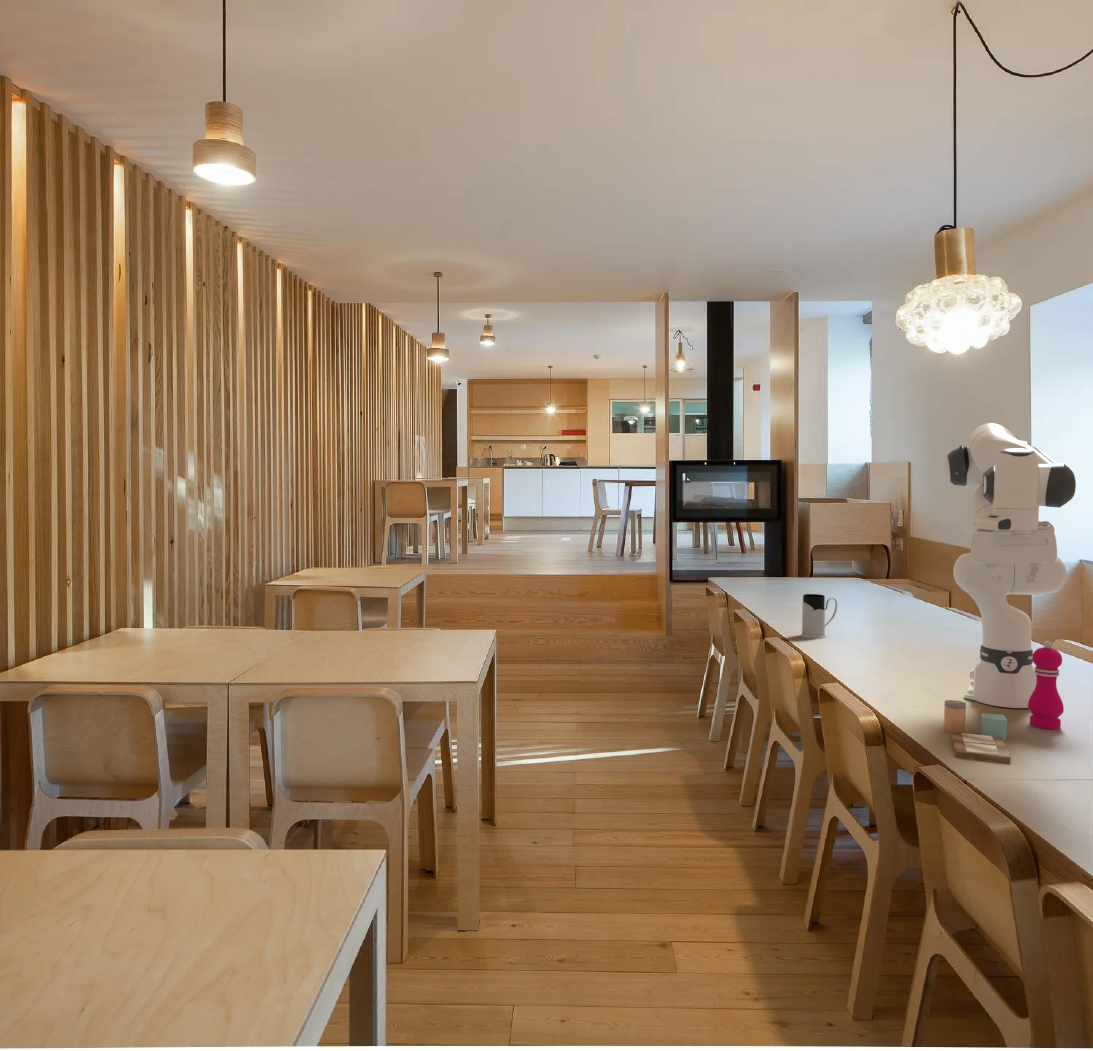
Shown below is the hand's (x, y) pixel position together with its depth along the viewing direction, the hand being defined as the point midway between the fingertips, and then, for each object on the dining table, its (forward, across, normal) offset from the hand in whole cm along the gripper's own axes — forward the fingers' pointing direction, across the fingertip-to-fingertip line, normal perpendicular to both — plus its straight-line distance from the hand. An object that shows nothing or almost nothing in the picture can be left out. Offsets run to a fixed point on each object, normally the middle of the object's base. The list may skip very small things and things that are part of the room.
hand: (1013, 583), depth 187 cm
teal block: (+35, +3, -1) cm, 35 cm away
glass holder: (+34, -25, -116) cm, 123 cm away
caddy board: (+35, +14, +6) cm, 38 cm away
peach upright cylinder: (+34, +10, -6) cm, 36 cm away
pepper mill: (+35, -14, -4) cm, 38 cm away
